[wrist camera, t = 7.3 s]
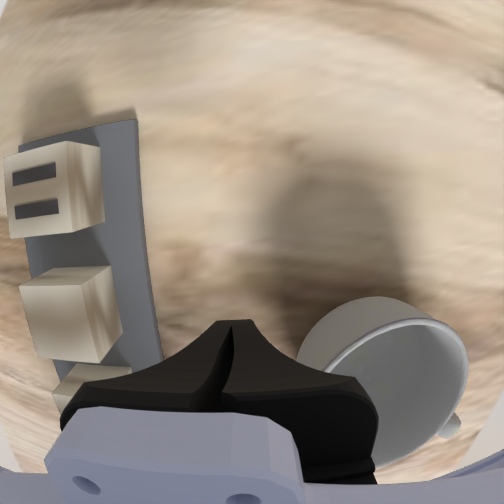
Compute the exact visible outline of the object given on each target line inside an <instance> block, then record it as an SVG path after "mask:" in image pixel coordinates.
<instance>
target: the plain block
mask: <svg viewBox="0 0 504 504" xmlns="http://www.w3.org/2000/svg"><path fill="white" fill-rule="evenodd" d="M19 289H20V293H21V298H22V302H23V306H24V310H25V314H26V318H27V322H28V325H29V329H30V332H31V336H32V339H33V342H34V346H35V349H36V352H37V355H38V357H40V358H49V359H57V360H67V361H77V362H88V363H100V362H101V361H102V359H103V358H104V357H105V355H106V354H107V353H108V351H109V350H110V349H111V347H112V346H113V345H114V343H115V342H116V341H117V340H118V338H119V337H120V336H121V334H122V333H123V330H122V325H121V320H120V315H119V310H118V305H117V299H116V294H115V288H114V282H113V275H112V269H111V265H107V266H86V267H65V268H53V269H51V270H49V271H47V272H45V273H43V274H41V275H39V276H37V277H35V278H33V279H31V280H29V281H27V282H26V283H24V284H22V285H20V286H19Z"/></svg>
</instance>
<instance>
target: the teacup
mask: <svg viewBox="0 0 504 504" xmlns="http://www.w3.org/2000/svg"><path fill="white" fill-rule="evenodd" d="M296 361H297V362H299V363H301V364H303V365H306V366H308V367H311V368H314V369H317V370H320V371H324V372H327V373H332V374H338V375H345V376H352V377H356V379H357V380H358V382H359V383H360V384H361V385H362V387H363V388H364V389H365V391H366V392H367V394H368V395H369V396H370V398H371V400H372V402H373V404H374V406H375V408H376V410H377V413H378V416H379V424H378V431H377V435H376V439H375V443H374V447H373V451H372V455H371V457H372V459H373V462H374V464H375V468H377V467H381V466H385V465H388V464H391V463H393V462H396V461H398V460H400V459H402V458H404V457H406V456H408V455H410V454H411V453H413V452H414V451H416V450H417V449H419V448H420V447H421V446H423V445H424V444H425V443H426V442H428V441H429V440H430V439H431V438H433V437H434V435H435V434H437V435H439V436H440V437H443V438H450V437H452V436H453V435H454V434H455V433H456V432H457V431H458V429H459V428H460V426H461V421H460V419H459V417H458V416H457V415H456V414H455V413H454V411H455V409H456V407H457V405H458V404H459V402H460V400H461V397H462V395H463V393H464V390H465V387H466V383H467V378H468V355H467V351H466V348H465V346H464V343H463V341H462V339H461V338H460V336H459V335H458V334H457V332H456V331H455V330H454V329H453V328H451V327H450V326H448V325H447V324H445V323H444V322H441V321H438V320H435V319H433V318H432V317H430V316H429V315H427V314H426V313H424V312H422V311H421V310H419V309H417V308H415V307H413V306H411V305H409V304H407V303H405V302H402V301H400V300H397V299H393V298H389V297H379V296H375V297H364V298H360V299H356V300H352V301H350V302H347V303H345V304H343V305H341V306H338V307H337V308H335V309H334V310H332V311H331V312H329V313H328V314H326V315H325V316H324V317H323V318H322V319H320V320H319V321H318V322H317V323H316V324H315V326H314V327H313V328H312V329H311V330H310V332H309V333H308V335H307V336H306V338H305V339H304V341H303V343H302V345H301V347H300V350H299V352H298V355H297V359H296Z"/></svg>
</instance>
